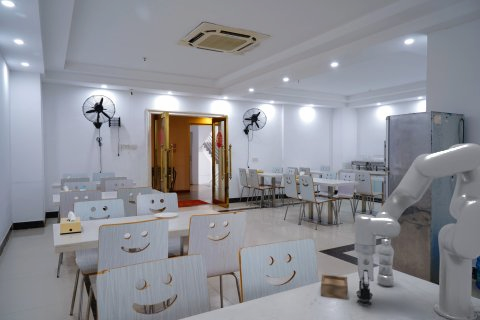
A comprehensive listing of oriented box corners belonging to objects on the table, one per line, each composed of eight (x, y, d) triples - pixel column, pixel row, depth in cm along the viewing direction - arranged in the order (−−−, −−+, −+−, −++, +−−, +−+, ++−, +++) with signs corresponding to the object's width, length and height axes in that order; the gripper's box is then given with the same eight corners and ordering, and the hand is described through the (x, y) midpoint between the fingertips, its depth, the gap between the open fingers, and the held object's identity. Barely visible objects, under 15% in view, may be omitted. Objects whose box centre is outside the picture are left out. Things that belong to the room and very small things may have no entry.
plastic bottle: (375, 285, 139) (376, 239, 139) (379, 280, 145) (379, 236, 145) (392, 289, 136) (392, 241, 135) (395, 284, 141) (395, 238, 141)
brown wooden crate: (346, 289, 135) (347, 277, 135) (347, 299, 126) (347, 286, 126) (322, 286, 138) (322, 274, 138) (320, 296, 129) (321, 283, 129)
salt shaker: (374, 307, 120) (374, 274, 119) (357, 305, 121) (357, 273, 121) (371, 300, 125) (371, 269, 125) (354, 298, 127) (355, 268, 126)
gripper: (378, 255, 113) (377, 307, 114) (373, 242, 130) (372, 287, 130) (355, 253, 116) (354, 303, 116) (353, 241, 132) (352, 285, 132)
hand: (364, 294), depth 123 cm, fingers closed on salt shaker, 5 cm apart
